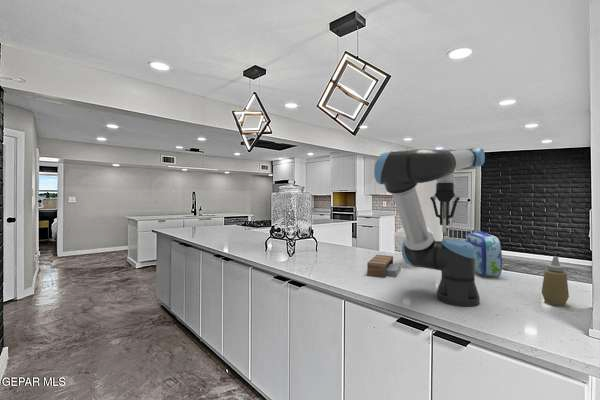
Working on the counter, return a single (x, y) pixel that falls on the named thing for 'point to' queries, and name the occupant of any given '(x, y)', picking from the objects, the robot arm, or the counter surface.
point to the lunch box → (486, 253)
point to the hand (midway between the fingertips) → (444, 232)
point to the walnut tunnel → (378, 265)
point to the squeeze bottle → (555, 284)
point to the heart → (404, 237)
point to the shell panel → (393, 270)
